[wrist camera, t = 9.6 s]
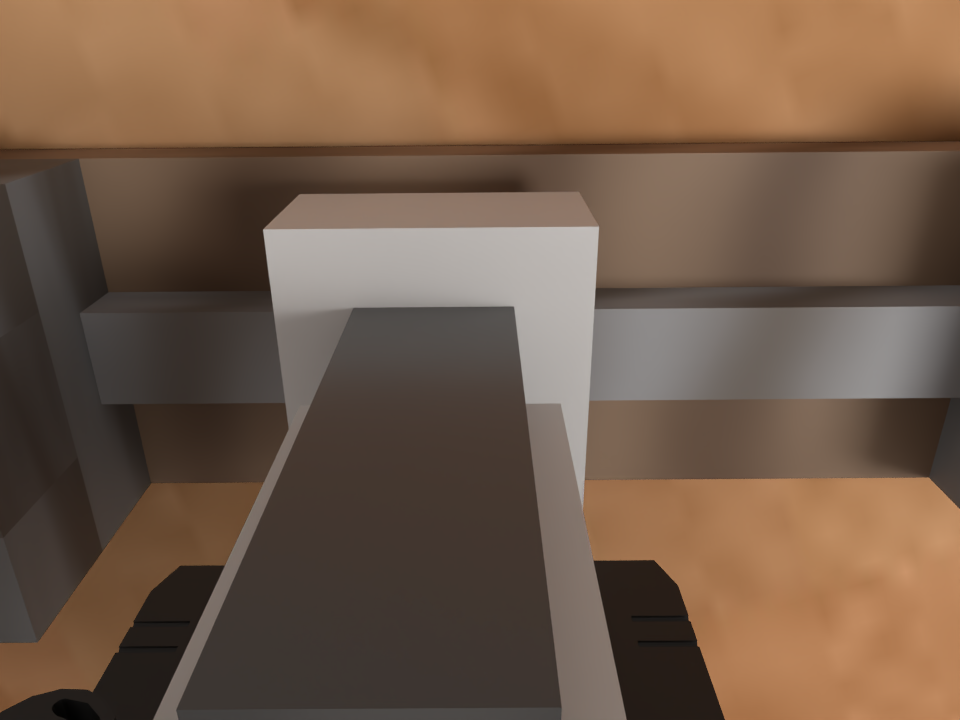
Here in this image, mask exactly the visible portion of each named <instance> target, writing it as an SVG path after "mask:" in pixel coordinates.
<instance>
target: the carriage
mask: <svg viewBox="0 0 960 720" xmlns="http://www.w3.org/2000/svg"><path fill="white" fill-rule="evenodd" d="M263 234H264V241H265V249H266V257H267V264H268V272H269V280H270V288H271V295H272V303H273V311H274V319H275V326H276V334H277V342H278V350H279V357H280V365H281V373H282V380H283V388H284V396H285V404H286V411H287V419H288V427H289V428H290V426H291V424H292V421H293V419H294V417H295V415H296V413H297V411H298V409H299V406H300V405H310V407H309V410H308V412H307V414H306V416H305V419H304V421H303V423H302V425H301V428H300V430H299V432H298V435H297V437H296V439H295V441H294V444H293V446H292V448H291V450H290V453H289V455H288V457H287V459H286V462H285V464H284V466H283V469H282V471H281V473H280V475H279V478H278V480H277V482H276V484H275V487H274V489H273V491H272V493H271V496H270V498H269V500H268V503H267V505H266V507H265V509H264V512H263V514H262V516H261V518H260V521H259V523H258V525H257V528H256V530H255V532H254V534H253V537H252V539H251V541H250V543H249V546H248V548H247V550H246V552H245V555H244V557H243V559H242V562H241V564H240V566H239V568H238V571H237V573H236V575H235V577H234V580H233V582H232V584H231V586H230V589H229V591H228V593H227V596H226V598H225V600H224V602H223V605H222V607H221V609H220V611H219V614H218V616H217V618H216V620H215V623H214V625H213V627H212V630H211V632H210V634H209V636H208V639H207V641H206V643H205V645H204V648H203V650H202V652H201V655H200V657H199V659H198V661H197V664H196V666H195V668H194V670H193V673H192V675H191V677H190V679H189V682H188V684H187V686H186V689H185V691H184V693H183V695H182V698H181V700H180V702H179V704H178V707H177V709H176V712H177V716H178V720H561V713H562V705H561V697H560V689H559V680H558V672H557V663H556V655H555V647H554V638H553V630H552V621H551V613H550V604H549V596H548V588H547V579H546V571H545V562H544V554H543V546H542V537H541V529H540V520H539V512H538V503H537V495H536V487H535V478H534V470H533V461H532V453H531V445H530V436H529V428H528V419H527V411H526V404H544V403H561V408H562V413H563V418H564V422H565V427H566V432H567V437H568V441H569V446H570V451H571V456H572V461H573V465H574V470H575V475H576V480H577V485H578V489H579V494H580V499H581V504H582V508H583V498H584V481H585V463H586V446H587V428H588V411H589V393H590V376H591V358H592V341H593V323H594V306H595V288H596V271H597V253H598V236H599V226H598V224H597V222H596V220H595V219H594V217H593V215H592V214H591V212H590V210H589V208H588V207H587V205H586V203H585V201H584V200H583V198H582V196H581V194H580V193H579V192H491V193H375V194H299V195H298V196H297V197H296V198H295V199H294V200H293V201H292V202H291V203H290V204H289V205H288V206H287V207H286V208H285V209H284V210H283V211H282V212H281V213H280V214H279V215H277V216H276V217H275V218H274V219H273V220H272V221H271V222H270V223H269V224H268V225H267V226H266V227H265V228H264V229H263Z"/></svg>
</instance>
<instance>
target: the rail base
mask: <svg viewBox="0 0 960 720" xmlns="http://www.w3.org/2000/svg"><path fill="white" fill-rule="evenodd" d="M491 192H579V193H580V194H581V196H582V198H583V200H584V201H585V203H586V205H587V207H588V208H589V210H590V212H591V214H592V215H593V217H594V219H595V220H596V222H597V224H598V226H599V236H598V253H597V271H596V288H595V306H594V323H593V341H592V358H591V376H590V393H589V411H588V428H587V446H586V463H585V480H641V479H779V478H916V477H929V478H930V479H931V480H932V481H933V482H934V483H935V484H936V485H937V486H938V487H939V488H940V489H941V490H942V491H943V492H944V493H945V494H946V495H947V496H948V497H949V498H950V499H951V500H952V501H953V502H954V503H955V504H956V505H957V506H958V508H959V509H960V141H919V142H806V143H694V144H581V145H469V146H356V147H244V148H131V149H19V150H0V643H32V642H38V641H39V640H40V638H41V637H42V635H43V634H44V633H45V631H46V630H47V628H48V627H49V626H50V624H51V623H52V621H53V620H54V619H55V617H56V616H57V614H58V613H59V612H60V610H61V609H62V607H63V606H64V605H65V603H66V602H67V600H68V599H69V598H70V596H71V595H72V593H73V592H74V591H75V589H76V588H77V586H78V585H79V583H80V582H81V581H82V579H83V578H84V576H85V575H86V574H87V572H88V571H89V569H90V568H91V567H92V565H93V564H94V562H95V561H96V560H97V558H98V557H99V555H100V554H101V553H102V551H103V550H104V548H105V547H106V546H107V544H108V543H109V541H110V540H111V539H112V537H113V536H114V534H115V533H116V531H117V530H118V529H119V527H120V526H121V524H122V523H123V522H124V520H125V519H126V517H127V516H128V515H129V513H130V512H131V510H132V509H133V508H134V506H135V505H136V503H137V502H138V501H139V499H140V498H141V496H142V495H143V494H144V492H145V491H146V489H147V488H148V487H149V485H150V484H151V483H228V482H264V481H265V479H266V477H267V475H268V473H269V471H270V468H271V466H272V464H273V462H274V460H275V458H276V456H277V453H278V451H279V449H280V447H281V445H282V443H283V441H284V439H285V436H286V434H287V432H288V430H289V427H288V419H287V411H286V404H285V396H284V388H283V380H282V373H281V365H280V357H279V350H278V342H277V334H276V326H275V319H274V311H273V303H272V295H271V288H270V280H269V272H268V264H267V257H266V249H265V241H264V234H263V229H264V228H265V227H266V226H267V225H268V224H269V223H270V222H271V221H272V220H273V219H274V218H275V217H276V216H277V215H279V214H280V213H281V212H282V211H283V210H284V209H285V208H286V207H287V206H288V205H289V204H290V203H291V202H292V201H293V200H294V199H295V198H296V197H297V196H298V195H299V194H375V193H491Z"/></svg>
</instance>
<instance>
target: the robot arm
mask: <svg viewBox="0 0 960 720" xmlns="http://www.w3.org/2000/svg"><path fill="white" fill-rule="evenodd" d="M309 407H310V405H300V406H299V409H298V411H297V413H296V415H295V417H294V419H293V421H292V424H291V426H290V428H289V430H288V432H287V434H286V436H285V439H284V441H283V443H282V445H281V447H280V449H279V451H278V453H277V456H276V458H275V460H274V462H273V464H272V466H271V468H270V471H269V473H268V475H267V477H266V479H265V481H264V483H263V486H262V488H261V490H260V492H259V494H258V496H257V498H256V501H255V503H254V505H253V507H252V509H251V511H250V513H249V516H248V518H247V520H246V522H245V524H244V526H243V528H242V531H241V533H240V535H239V537H238V539H237V541H236V543H235V545H234V548H233V550H232V552H231V554H230V556H229V558H228V560H227V563H226V565H225V566H180V567H178V568H177V569H176V570H175V571H174V572H173V573H172V574H170V575H169V576H168V577H167V578H166V579H165V580H163V581H162V582H161V583H160V584H159V585H158V586H157V587H155V588H154V589H153V590H152V591H151V592H150V594H149V596H148V597H147V599H146V601H145V603H144V604H143V606H142V608H141V610H140V611H139V613H138V615H137V616H136V618H135V620H134V626H133V627H130V629H129V630H128V632H127V634H126V636H125V637H124V639H123V641H122V642H121V644H120V646H119V652H118V653H115V655H114V656H113V658H112V660H111V662H110V663H109V665H108V667H107V669H106V670H105V672H104V674H103V675H102V677H101V679H100V681H99V682H98V684H97V686H96V688H95V689H94V691H93V692H91V691H88V690H79V689H59V690H55V691H51V692H48V693H44V694H40V695H36V696H32V697H30V698H28V699H26V700H24V701H22V702H20V703H18V704H16V705H14V706H12V707H10V708H8V709H6V710H4V711H2V712H1V713H0V720H178V716H177V712H176V709H177V707H178V704H179V702H180V700H181V698H182V695H183V693H184V691H185V689H186V686H187V684H188V682H189V679H190V677H191V675H192V673H193V670H194V668H195V666H196V664H197V661H198V659H199V657H200V655H201V652H202V650H203V648H204V645H205V643H206V641H207V639H208V636H209V634H210V632H211V630H212V627H213V625H214V623H215V620H216V618H217V616H218V614H219V611H220V609H221V607H222V605H223V602H224V600H225V598H226V596H227V593H228V591H229V589H230V586H231V584H232V582H233V580H234V577H235V575H236V573H237V571H238V568H239V566H240V564H241V562H242V559H243V557H244V555H245V552H246V550H247V548H248V546H249V543H250V541H251V539H252V537H253V534H254V532H255V530H256V528H257V525H258V523H259V521H260V518H261V516H262V514H263V512H264V509H265V507H266V505H267V503H268V500H269V498H270V496H271V493H272V491H273V489H274V487H275V484H276V482H277V480H278V478H279V475H280V473H281V471H282V469H283V466H284V464H285V462H286V459H287V457H288V455H289V453H290V450H291V448H292V446H293V444H294V441H295V439H296V437H297V435H298V432H299V430H300V428H301V425H302V423H303V421H304V419H305V416H306V414H307V412H308V410H309ZM526 411H527V419H528V428H529V436H530V445H531V453H532V461H533V470H534V478H535V487H536V495H537V503H538V512H539V520H540V529H541V537H542V546H543V554H544V562H545V571H546V579H547V588H548V596H549V604H550V613H551V621H552V630H553V638H554V647H555V655H556V663H557V672H558V680H559V689H560V697H561V705H562V713H561V720H725V719H724V716H723V713H722V711H721V708H720V705H719V702H718V699H717V696H716V693H715V690H714V688H713V685H712V682H711V679H710V676H709V673H708V670H707V668H706V665H705V662H704V659H703V656H702V653H701V650H700V648H699V647H698V646H697V639H696V636H695V633H694V630H693V628H692V625H691V622H690V621H689V620H688V613H687V610H686V607H685V605H684V602H683V599H682V596H681V593H680V590H679V587H678V585H677V584H676V583H675V582H674V581H673V580H672V579H671V578H670V577H669V576H668V575H667V574H666V572H665V571H664V570H663V569H662V568H661V567H660V566H659V565H658V564H657V563H656V562H655V561H654V560H636V561H593V556H592V552H591V547H590V542H589V537H588V532H587V528H586V523H585V518H584V513H583V508H582V504H581V499H580V494H579V489H578V485H577V480H576V475H575V470H574V465H573V461H572V456H571V451H570V446H569V441H568V437H567V432H566V427H565V422H564V418H563V413H562V408H561V403H544V404H526Z"/></svg>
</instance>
